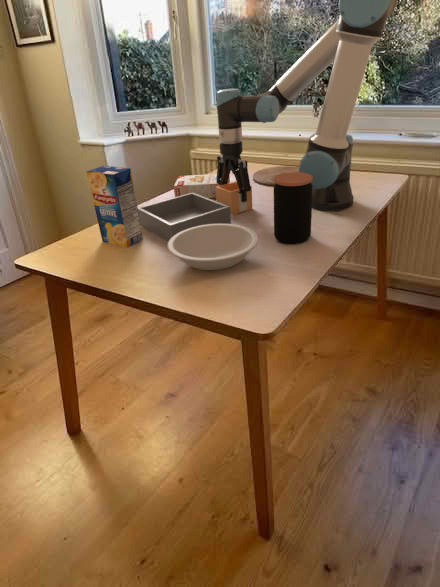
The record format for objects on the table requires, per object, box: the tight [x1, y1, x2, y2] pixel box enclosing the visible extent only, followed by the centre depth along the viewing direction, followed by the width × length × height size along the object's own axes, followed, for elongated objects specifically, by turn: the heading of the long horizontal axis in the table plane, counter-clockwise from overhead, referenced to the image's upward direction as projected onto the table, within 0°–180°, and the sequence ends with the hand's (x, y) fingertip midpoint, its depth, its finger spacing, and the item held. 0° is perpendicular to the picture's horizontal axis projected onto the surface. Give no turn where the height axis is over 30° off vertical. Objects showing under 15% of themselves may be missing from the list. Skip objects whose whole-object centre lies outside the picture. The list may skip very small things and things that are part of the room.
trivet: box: [252, 165, 299, 187], centre depth 182 cm, size 25×25×2 cm
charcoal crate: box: [137, 192, 232, 243], centre depth 141 cm, size 22×22×6 cm
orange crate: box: [215, 180, 253, 216], centre depth 151 cm, size 9×9×8 cm
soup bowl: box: [167, 223, 259, 271], centre depth 115 cm, size 24×24×7 cm
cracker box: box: [173, 173, 231, 199], centre depth 169 cm, size 14×6×21 cm
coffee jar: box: [273, 172, 313, 245], centre depth 123 cm, size 11×11×18 cm
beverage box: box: [86, 165, 144, 249], centre depth 129 cm, size 7×11×22 cm, turn 57°
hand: (234, 207), depth 152 cm, fingers closed on orange crate, 9 cm apart
